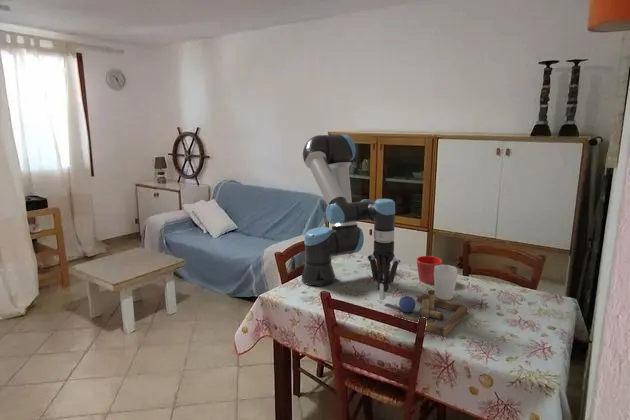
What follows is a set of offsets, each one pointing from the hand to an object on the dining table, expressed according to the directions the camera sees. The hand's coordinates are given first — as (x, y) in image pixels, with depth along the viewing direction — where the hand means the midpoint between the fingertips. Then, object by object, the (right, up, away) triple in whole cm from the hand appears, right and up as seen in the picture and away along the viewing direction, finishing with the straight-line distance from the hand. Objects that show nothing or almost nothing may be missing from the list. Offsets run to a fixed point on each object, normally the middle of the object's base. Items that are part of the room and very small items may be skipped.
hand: (382, 298), depth 162 cm
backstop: (+15, -4, -11) cm, 19 cm away
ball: (+8, 0, -8) cm, 11 cm away
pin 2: (+16, -4, -9) cm, 19 cm away
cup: (+26, -1, +6) cm, 26 cm away
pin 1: (+13, -4, -12) cm, 19 cm away
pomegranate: (+5, +5, +35) cm, 35 cm away
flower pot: (+24, +3, +23) cm, 33 cm away
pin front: (+12, -2, -9) cm, 15 cm away
